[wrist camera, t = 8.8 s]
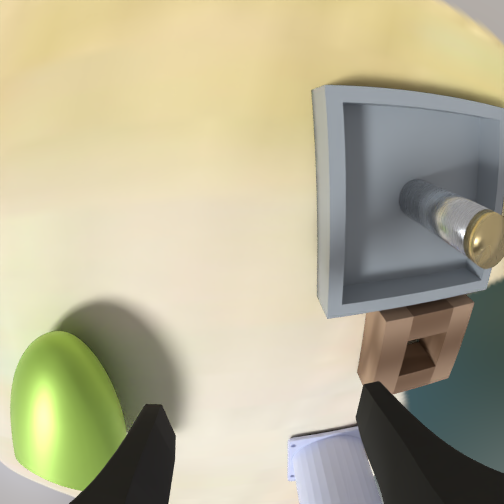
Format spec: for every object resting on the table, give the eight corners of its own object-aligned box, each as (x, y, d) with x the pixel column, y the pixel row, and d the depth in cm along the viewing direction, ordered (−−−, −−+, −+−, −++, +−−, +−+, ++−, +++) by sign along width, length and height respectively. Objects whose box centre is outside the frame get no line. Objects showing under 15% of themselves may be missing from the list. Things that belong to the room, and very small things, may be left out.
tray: (467, 273, 20) (486, 288, 17) (316, 295, 19) (327, 318, 17) (481, 107, 15) (507, 109, 13) (311, 89, 15) (324, 85, 12)
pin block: (432, 354, 22) (448, 377, 20) (357, 372, 22) (369, 399, 20) (451, 281, 20) (474, 302, 17) (368, 295, 20) (386, 321, 17)
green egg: (104, 529, 18) (119, 425, 13) (2, 464, 18) (-39, 313, 13) (129, 477, 26) (166, 348, 20) (36, 423, 26) (32, 275, 20)
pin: (430, 216, 17) (505, 265, 11) (397, 219, 17) (469, 272, 11) (432, 178, 16) (514, 213, 10) (399, 178, 16) (479, 216, 10)
